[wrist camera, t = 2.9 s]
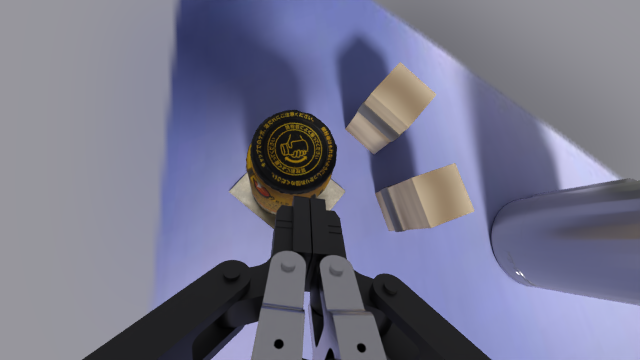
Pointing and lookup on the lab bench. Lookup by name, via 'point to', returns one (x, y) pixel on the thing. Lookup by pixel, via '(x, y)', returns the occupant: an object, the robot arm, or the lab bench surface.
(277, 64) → the lab bench surface
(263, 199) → the condiment
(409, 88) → the banded post
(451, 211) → the banded post
